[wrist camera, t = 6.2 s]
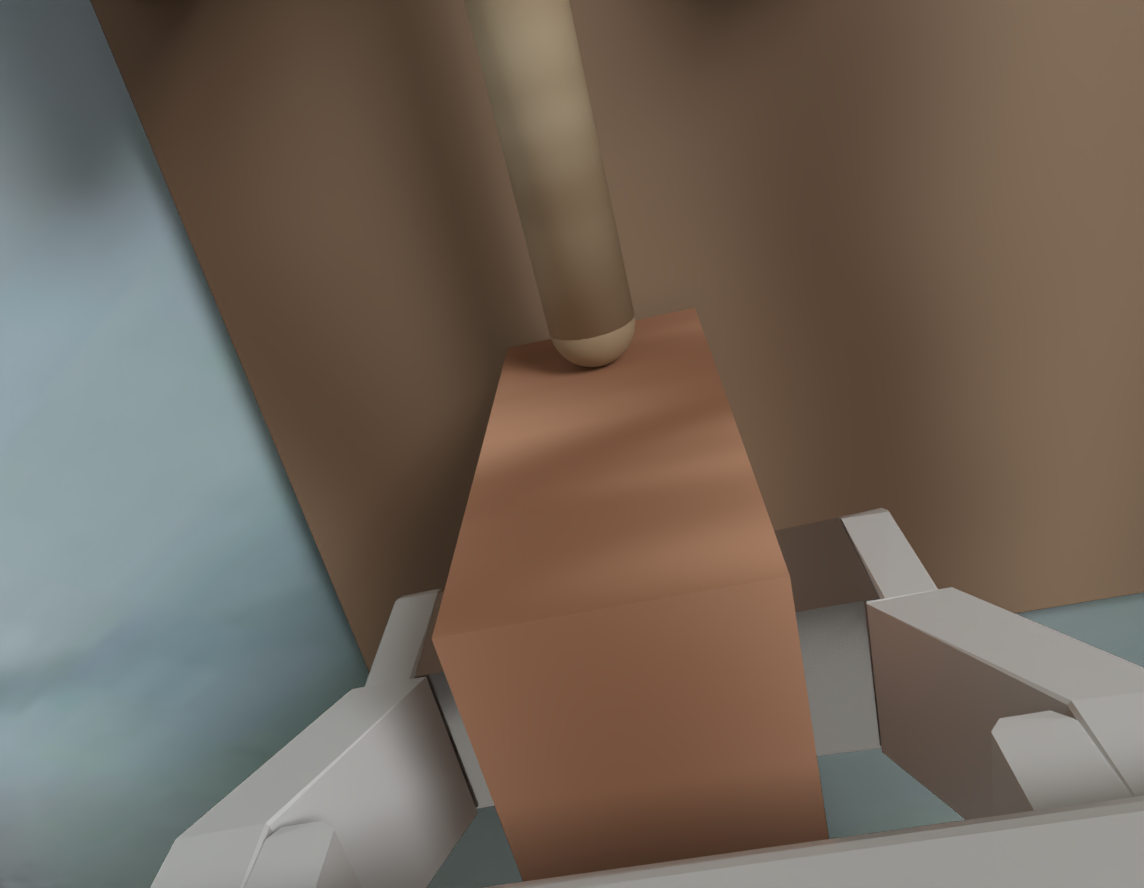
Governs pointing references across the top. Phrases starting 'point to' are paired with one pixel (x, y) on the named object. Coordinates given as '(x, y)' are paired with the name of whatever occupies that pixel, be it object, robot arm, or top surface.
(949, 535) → the walnut rack
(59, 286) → the top surface
